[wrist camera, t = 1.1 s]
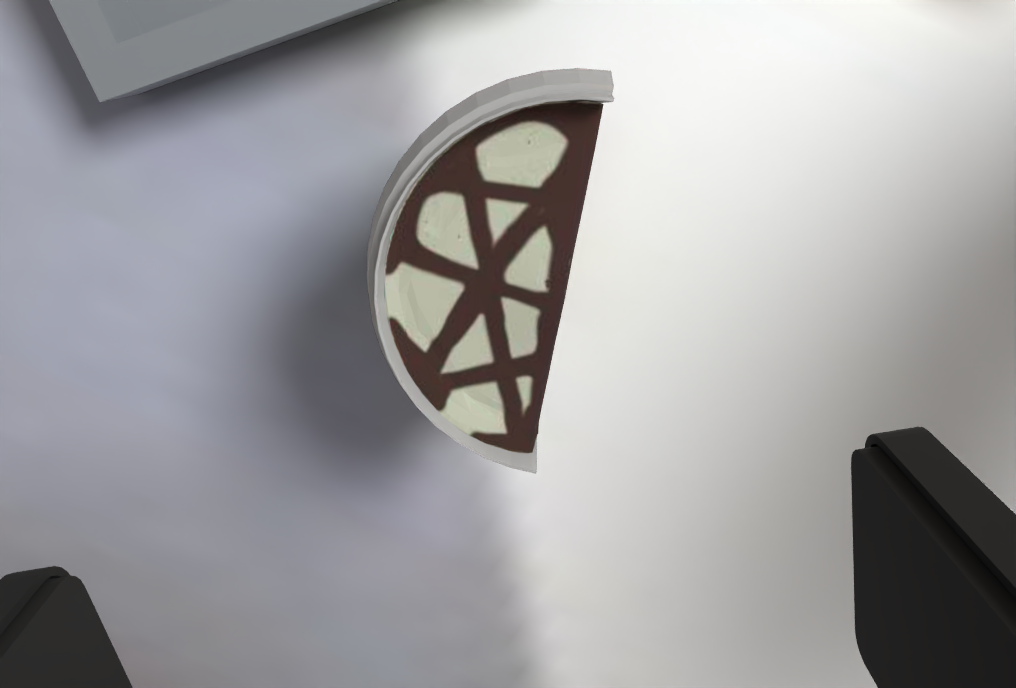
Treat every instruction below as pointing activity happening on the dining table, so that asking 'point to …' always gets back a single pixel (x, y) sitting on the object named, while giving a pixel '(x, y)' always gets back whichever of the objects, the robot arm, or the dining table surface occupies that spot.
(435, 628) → the dining table surface
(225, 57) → the tray
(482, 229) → the food container
